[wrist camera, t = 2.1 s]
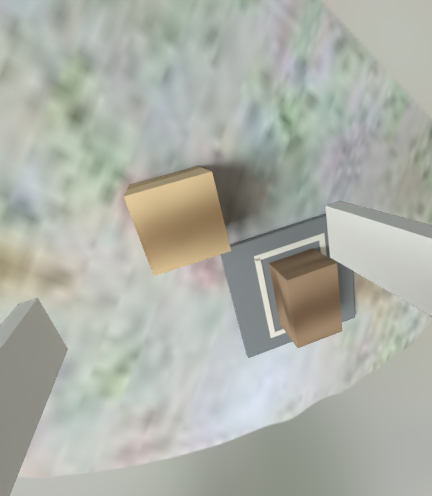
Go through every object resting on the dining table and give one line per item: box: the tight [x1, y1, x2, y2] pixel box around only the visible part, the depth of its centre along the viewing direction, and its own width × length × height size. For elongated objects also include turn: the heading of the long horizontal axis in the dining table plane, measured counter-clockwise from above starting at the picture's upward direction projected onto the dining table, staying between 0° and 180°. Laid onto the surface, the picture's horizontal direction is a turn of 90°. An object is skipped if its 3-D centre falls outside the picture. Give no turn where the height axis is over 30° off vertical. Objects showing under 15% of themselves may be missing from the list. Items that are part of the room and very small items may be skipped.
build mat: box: [221, 214, 355, 358], centre depth 30 cm, size 14×14×1 cm
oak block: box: [124, 166, 231, 276], centre depth 22 cm, size 6×6×6 cm
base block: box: [269, 248, 342, 348], centre depth 28 cm, size 8×5×4 cm, turn 14°
